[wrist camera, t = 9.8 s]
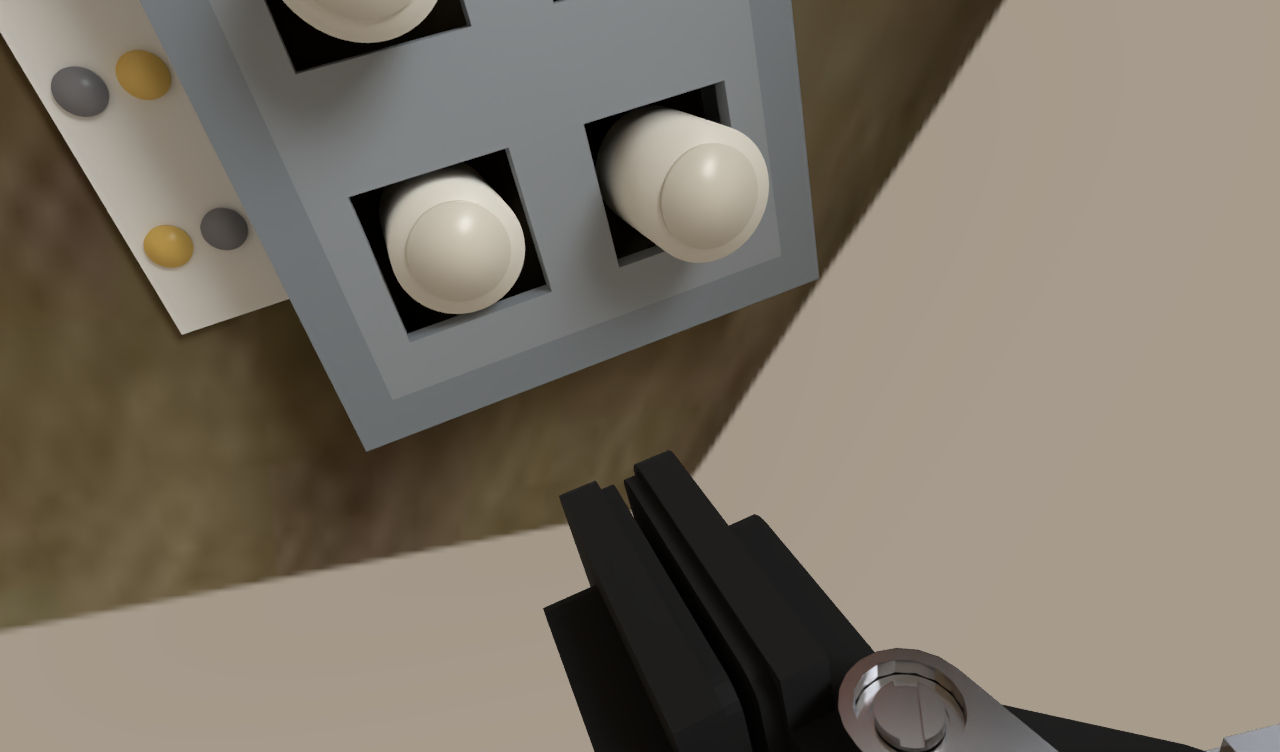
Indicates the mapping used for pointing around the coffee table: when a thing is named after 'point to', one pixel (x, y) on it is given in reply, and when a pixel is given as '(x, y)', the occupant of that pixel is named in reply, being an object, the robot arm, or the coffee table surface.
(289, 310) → the coffee table surface
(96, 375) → the coffee table surface
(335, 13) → the button
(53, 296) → the coffee table surface
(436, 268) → the button
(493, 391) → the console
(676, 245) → the button
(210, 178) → the card
